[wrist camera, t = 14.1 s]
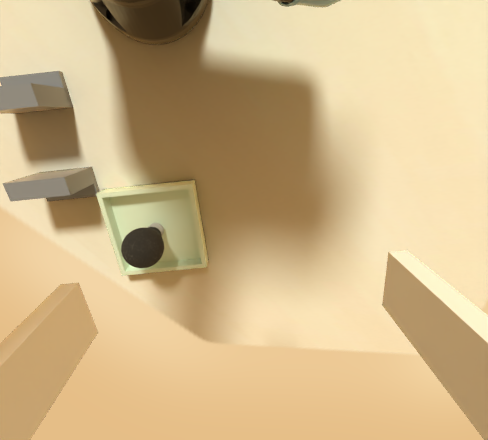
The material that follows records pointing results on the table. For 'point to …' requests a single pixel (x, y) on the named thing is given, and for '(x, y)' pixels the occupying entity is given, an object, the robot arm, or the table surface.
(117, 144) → the table surface
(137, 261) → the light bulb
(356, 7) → the table surface
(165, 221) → the tray
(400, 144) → the table surface
